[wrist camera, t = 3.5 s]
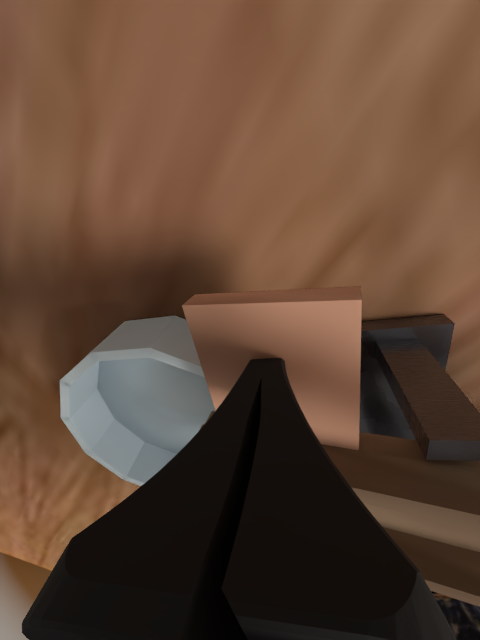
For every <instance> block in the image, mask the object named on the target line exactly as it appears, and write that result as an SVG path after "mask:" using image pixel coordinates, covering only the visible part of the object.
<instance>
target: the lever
mask: <svg viewBox="0 0 480 640" xmlns="http://www.w3.org/2000/svg"><path fill="white" fill-rule="evenodd" d="M182 308H183V311H184V314H185V317H186V320H187V323H188V326H189V329H190V333H191V336H192V339H193V342H194V345H195V348H196V351H197V354H198V358H199V361H200V364H201V367H202V370H203V373H204V376H205V379H206V382H207V386H208V389H209V392H210V395H211V398H212V401H213V404H214V407H215V410H217V408H218V407H219V406H220V404H221V403H222V402H223V400H224V399H225V398H226V396H227V395H228V393H229V392H230V390H231V389H232V388H233V386H234V385H235V383H236V382H237V380H238V378H239V377H240V375H241V374H242V372H243V370H244V369H245V367H246V365H247V364H248V362H249V361H250V360H251V359H266V358H282V359H283V360H285V366H286V373H287V376H288V379H289V382H290V385H291V388H292V390H293V392H294V395H295V397H296V399H297V402H298V404H299V406H300V408H301V410H302V412H303V414H304V416H305V418H306V419H307V421H308V423H309V425H310V427H311V428H312V430H313V432H314V434H315V435H316V437H317V438H318V440H319V442H320V443H321V445H322V447H323V448H324V450H325V451H326V453H327V454H328V456H329V457H330V459H331V460H332V462H333V463H334V465H335V466H336V467H337V469H338V470H339V471H340V473H341V474H342V475H343V477H344V478H345V480H346V481H347V482H348V484H349V485H350V486H351V488H352V489H353V491H354V492H355V493H356V495H357V496H358V497H359V498H360V500H361V501H362V502H363V504H364V505H365V506H366V507H367V509H368V510H369V511H370V512H371V514H372V515H373V516H374V517H375V519H376V520H377V521H378V522H379V524H380V525H381V526H382V527H383V528H384V530H385V531H386V532H387V533H388V534H389V535H390V537H391V538H392V539H393V540H394V541H395V543H396V544H397V545H398V546H399V547H400V548H401V550H402V551H403V552H404V553H405V554H406V555H407V557H408V558H409V559H410V560H411V561H412V562H413V563H414V565H415V566H416V567H417V568H418V570H419V571H420V573H421V575H422V577H423V578H424V580H425V582H426V584H427V585H428V587H429V589H430V591H433V592H436V593H439V594H442V595H445V596H448V597H451V598H454V599H457V600H461V601H464V602H467V603H470V604H473V605H476V606H479V607H480V461H465V460H426V459H425V457H424V455H423V453H422V451H421V449H420V446H419V444H418V442H417V440H412V439H405V438H398V437H391V436H384V435H377V434H370V433H363V432H359V420H360V367H361V314H362V297H361V287H360V286H355V287H335V288H314V289H294V290H274V291H254V292H234V293H213V294H195V295H193V296H192V297H191V298H190V299H189V300H188V301H186V302H185V303H184V304H183V305H182ZM214 412H215V411H211V413H210V415H209V417H208V419H207V421H208V420H209V419H210V417H211V416H212V415H213V413H214ZM207 421H206V422H207ZM206 422H205V423H206ZM204 425H205V424H202V426H201V428H202V427H203V426H204ZM201 428H200V429H201ZM198 432H199V431H198Z"/></svg>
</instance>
